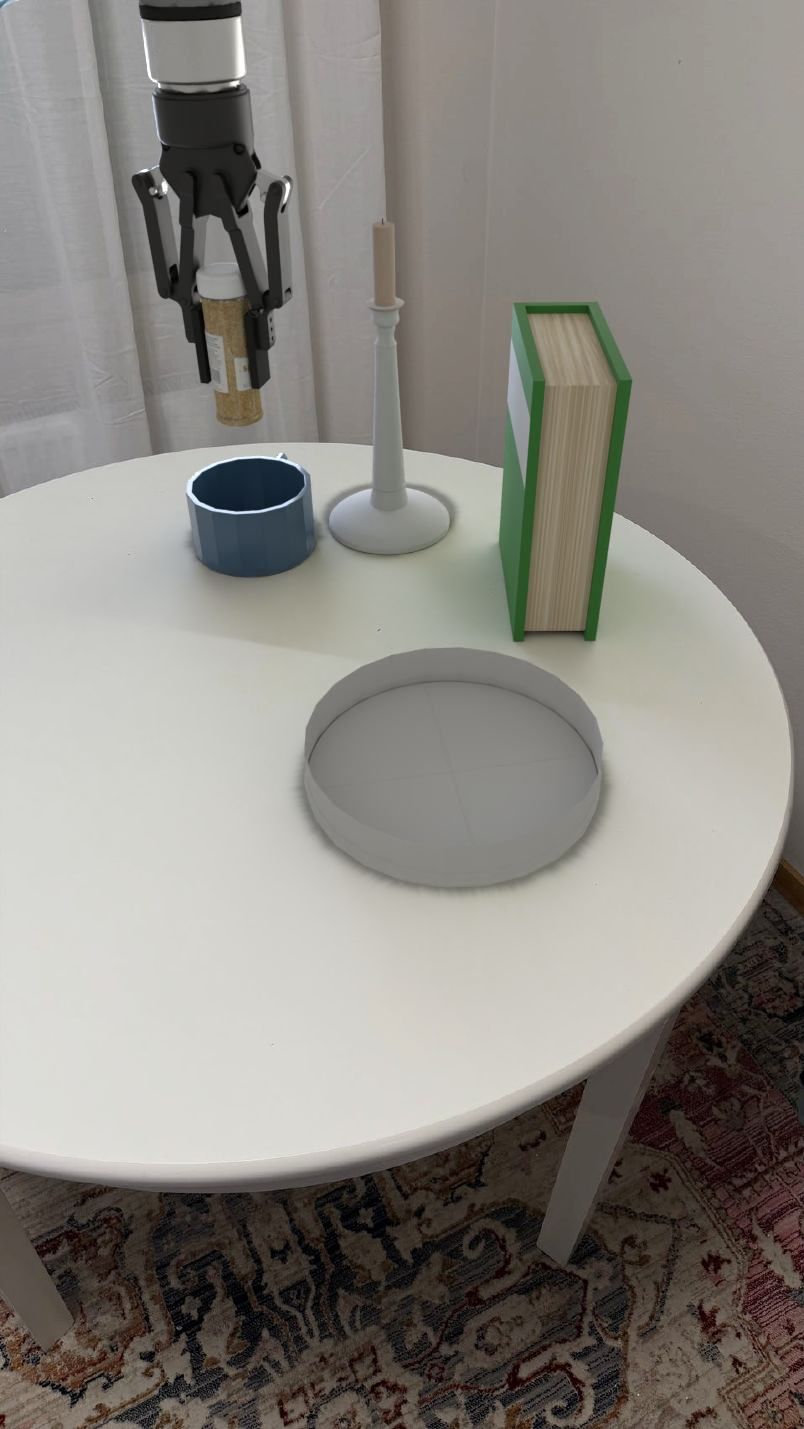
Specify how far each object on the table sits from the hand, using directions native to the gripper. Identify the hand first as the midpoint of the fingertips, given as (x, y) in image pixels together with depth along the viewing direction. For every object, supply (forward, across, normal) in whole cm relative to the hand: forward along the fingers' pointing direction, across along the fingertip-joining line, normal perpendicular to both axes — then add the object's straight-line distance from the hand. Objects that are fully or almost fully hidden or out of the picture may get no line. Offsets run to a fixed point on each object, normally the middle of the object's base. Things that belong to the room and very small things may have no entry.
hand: (235, 380), depth 92 cm
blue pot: (+18, 0, -2) cm, 18 cm away
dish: (+18, -28, +29) cm, 44 cm away
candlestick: (+18, -12, -8) cm, 23 cm away
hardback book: (+18, -30, 0) cm, 35 cm away
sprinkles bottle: (+4, 0, 0) cm, 4 cm away
